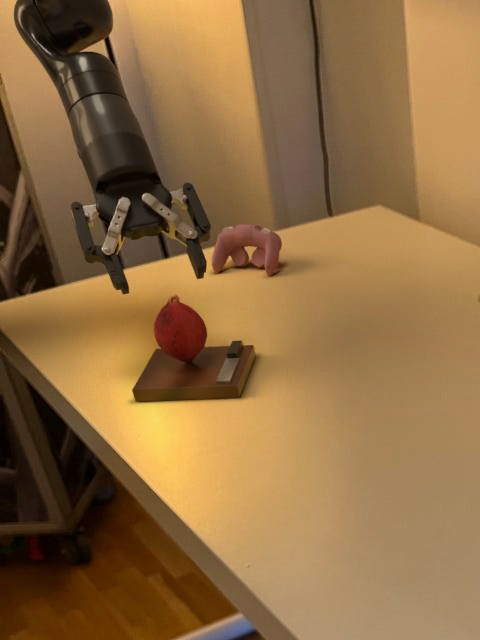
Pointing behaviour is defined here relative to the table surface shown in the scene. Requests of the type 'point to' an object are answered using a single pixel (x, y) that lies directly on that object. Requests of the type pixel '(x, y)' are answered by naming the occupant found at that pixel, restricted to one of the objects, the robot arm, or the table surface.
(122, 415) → the table surface
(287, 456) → the table surface
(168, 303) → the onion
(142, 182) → the robot arm
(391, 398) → the table surface
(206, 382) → the cutting board
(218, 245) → the video game controller
